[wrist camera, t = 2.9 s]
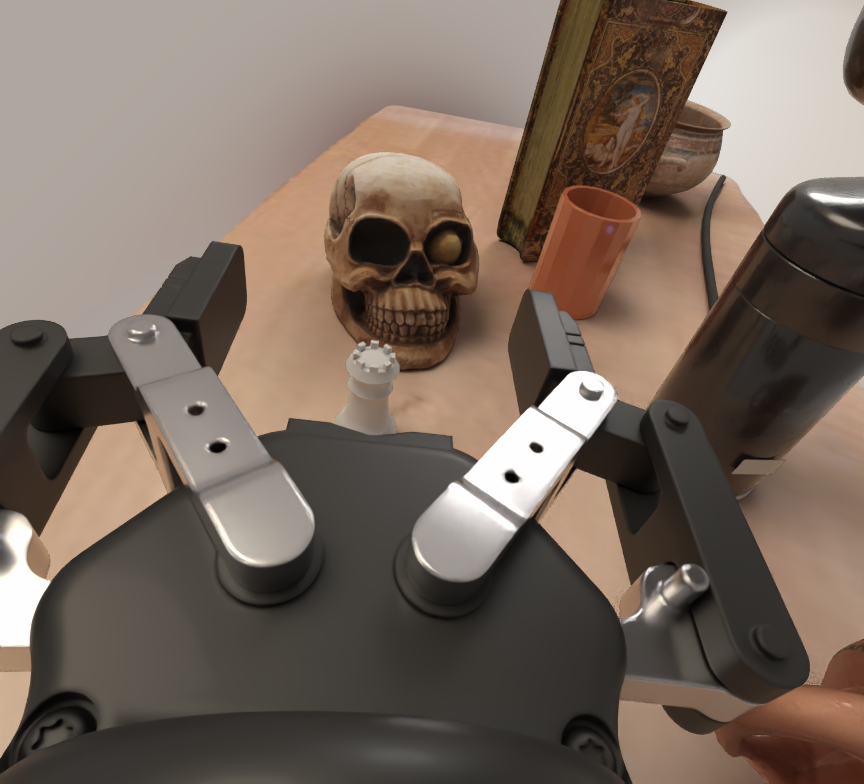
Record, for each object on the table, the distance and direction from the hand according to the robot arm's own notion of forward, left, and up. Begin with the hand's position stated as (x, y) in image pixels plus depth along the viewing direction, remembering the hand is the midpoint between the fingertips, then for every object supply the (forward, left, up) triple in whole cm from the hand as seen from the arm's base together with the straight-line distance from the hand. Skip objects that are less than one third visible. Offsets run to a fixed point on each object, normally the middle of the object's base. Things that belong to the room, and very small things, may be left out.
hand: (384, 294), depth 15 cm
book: (-47, -17, -20) cm, 54 cm away
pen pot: (-37, -10, -19) cm, 43 cm away
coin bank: (-21, -19, -20) cm, 35 cm away
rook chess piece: (-8, -8, -20) cm, 23 cm away
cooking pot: (-76, -22, -20) cm, 82 cm away
